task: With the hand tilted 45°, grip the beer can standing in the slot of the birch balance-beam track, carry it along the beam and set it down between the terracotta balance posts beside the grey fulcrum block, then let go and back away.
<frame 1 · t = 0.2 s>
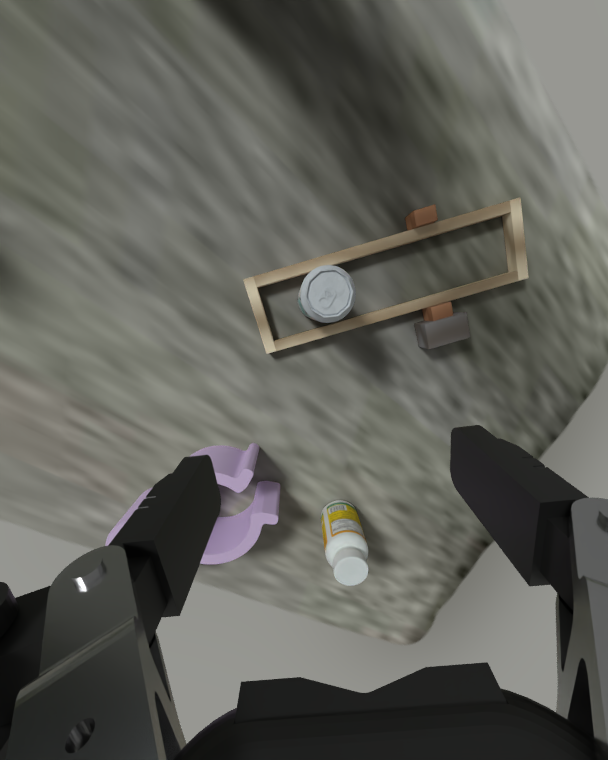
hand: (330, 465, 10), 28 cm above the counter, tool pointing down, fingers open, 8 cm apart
supplement bottle: (338, 514, 43), on the counter
clip: (206, 492, 42), on the counter
beer can: (317, 299, 36), resting in beam track
beam track: (384, 280, 36), on the counter
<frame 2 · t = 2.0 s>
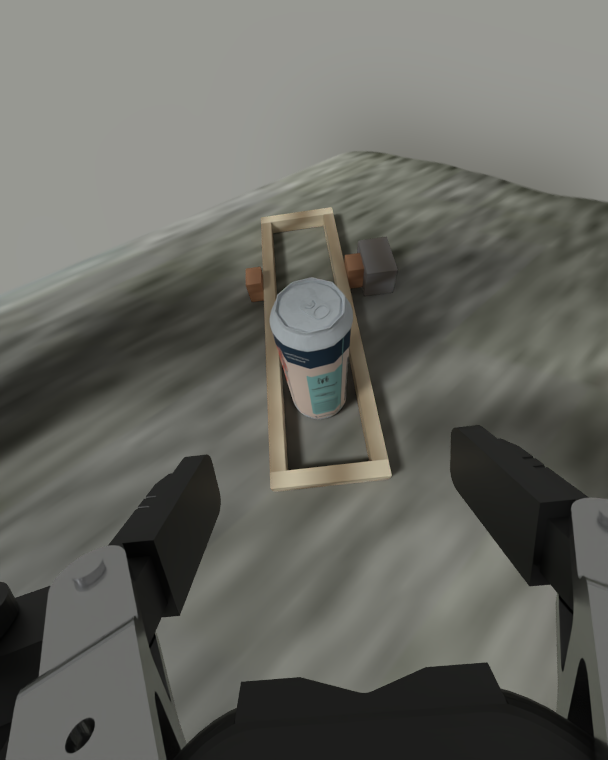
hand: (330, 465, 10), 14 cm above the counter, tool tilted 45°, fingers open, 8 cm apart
beer can: (319, 397, 27), resting in beam track
beam track: (310, 321, 31), on the counter
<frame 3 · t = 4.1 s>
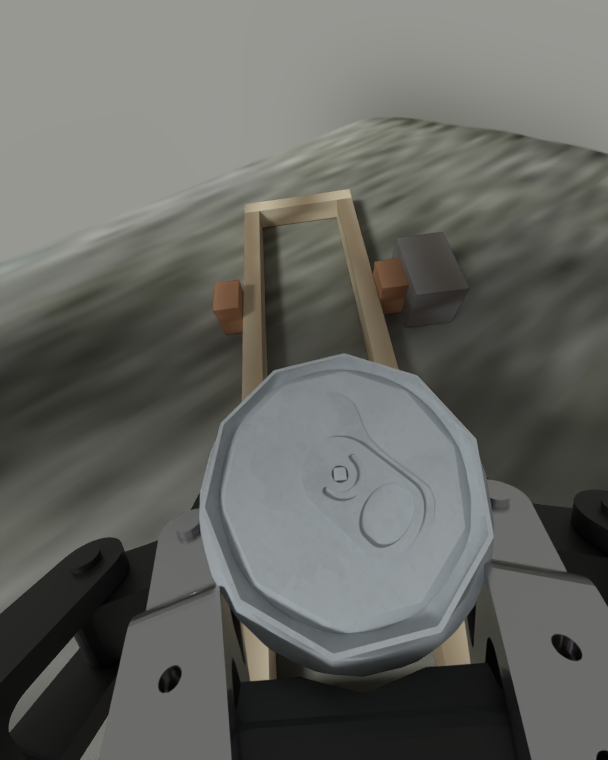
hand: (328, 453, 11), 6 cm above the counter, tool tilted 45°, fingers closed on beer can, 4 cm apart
beer can: (336, 519, 15), resting in beam track, touching gripper
beam track: (318, 370, 19), on the counter
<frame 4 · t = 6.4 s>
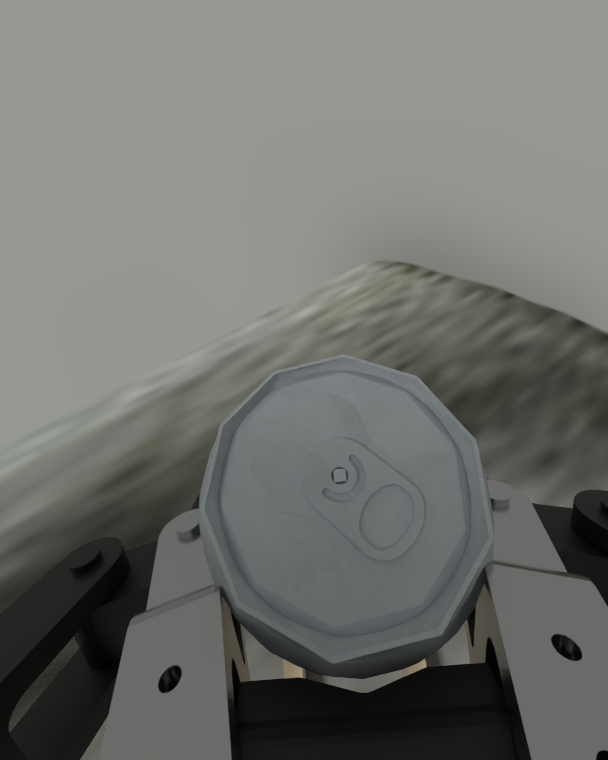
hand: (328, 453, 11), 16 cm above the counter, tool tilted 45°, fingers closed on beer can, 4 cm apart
beer can: (336, 519, 15), point 10 cm above the counter, touching gripper
beam track: (340, 569, 22), on the counter
when the fingers open (7 cm above the counter, at t = 8.8 s): beer can stays where it is, resting in beam track.
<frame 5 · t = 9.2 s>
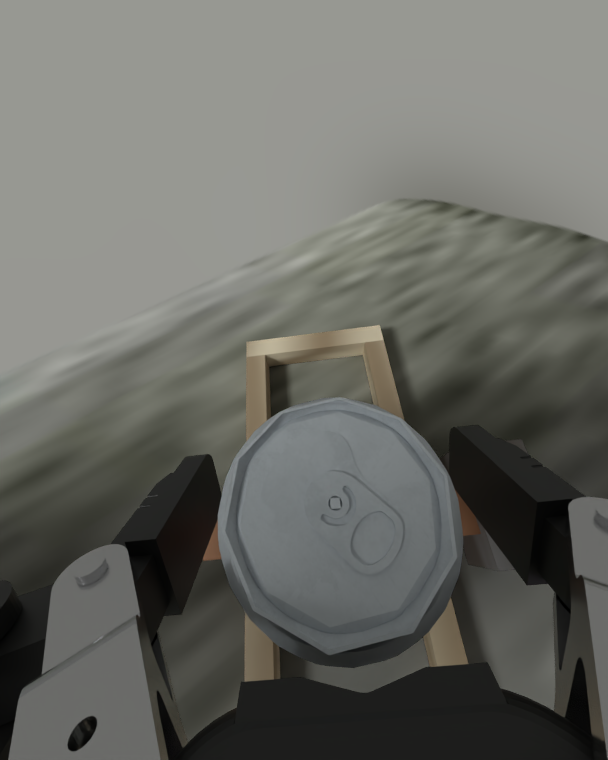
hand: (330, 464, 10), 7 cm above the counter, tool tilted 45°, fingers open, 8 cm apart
beer can: (334, 524, 16), resting in beam track
beam track: (350, 642, 13), on the counter
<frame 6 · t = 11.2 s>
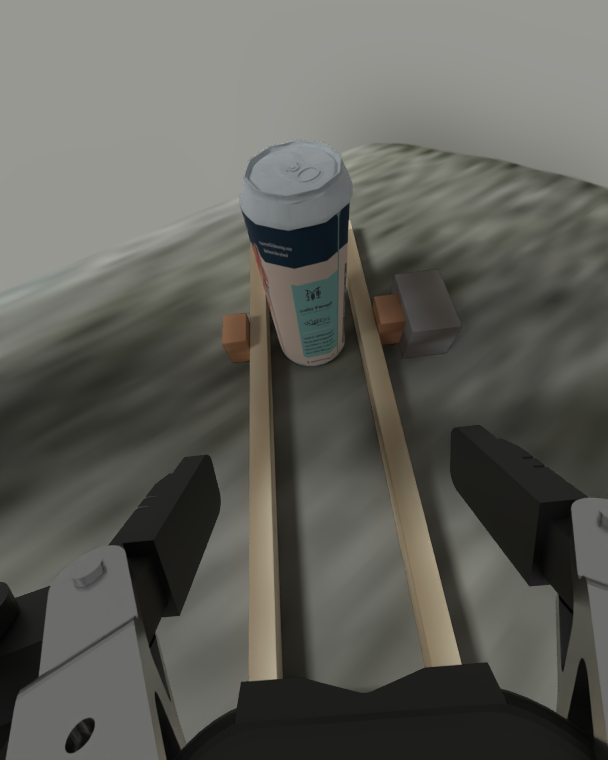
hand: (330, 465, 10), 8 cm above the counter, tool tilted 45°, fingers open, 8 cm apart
beer can: (313, 343, 22), resting in beam track
beam track: (320, 400, 20), on the counter
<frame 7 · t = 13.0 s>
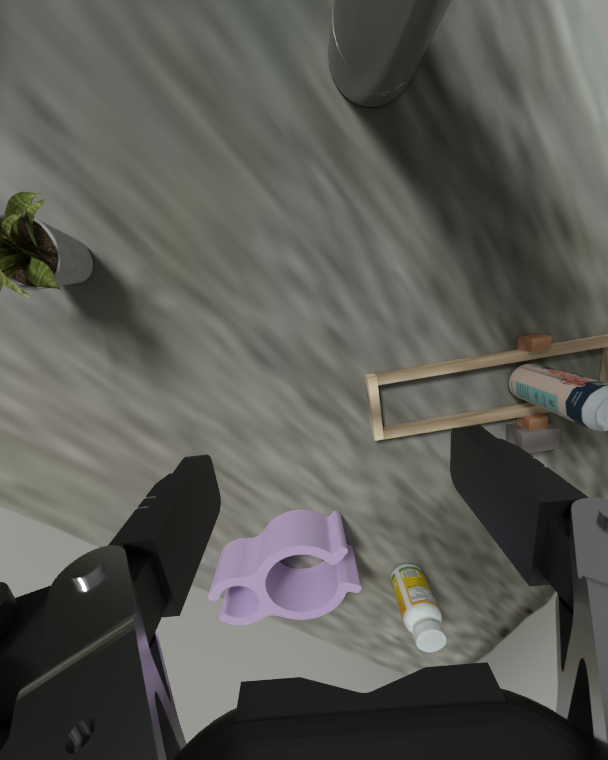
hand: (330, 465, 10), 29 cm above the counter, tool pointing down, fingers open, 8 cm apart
supplement bottle: (405, 574, 48), on the counter
clip: (285, 546, 46), on the counter
beer can: (522, 379, 40), resting in beam track
house plant: (83, 261, 35), on the counter
beam track: (488, 386, 40), on the counter
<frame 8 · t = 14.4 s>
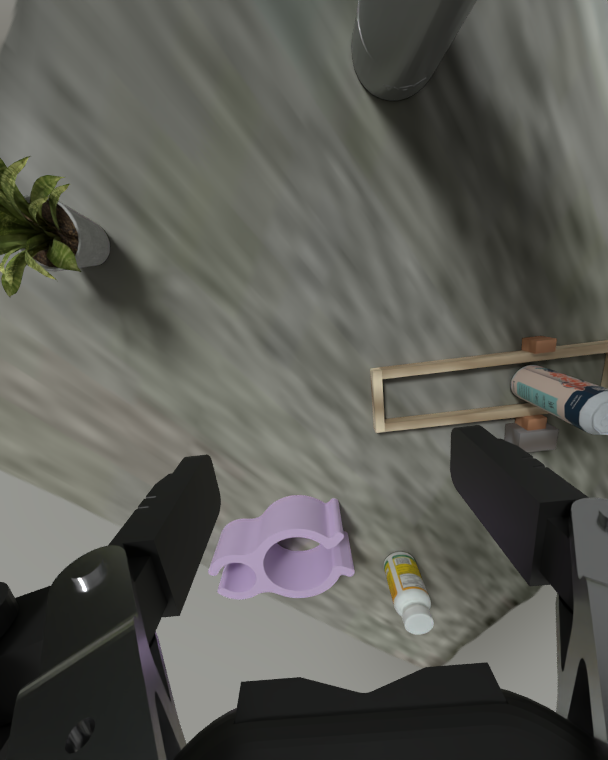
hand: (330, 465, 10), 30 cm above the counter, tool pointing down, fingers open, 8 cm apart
supplement bottle: (398, 561, 50), on the counter
clip: (283, 529, 48), on the counter
beer can: (525, 380, 41), resting in beam track
house plant: (100, 244, 36), on the counter
beam track: (490, 385, 41), on the counter
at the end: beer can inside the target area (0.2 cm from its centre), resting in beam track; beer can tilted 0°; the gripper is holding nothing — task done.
